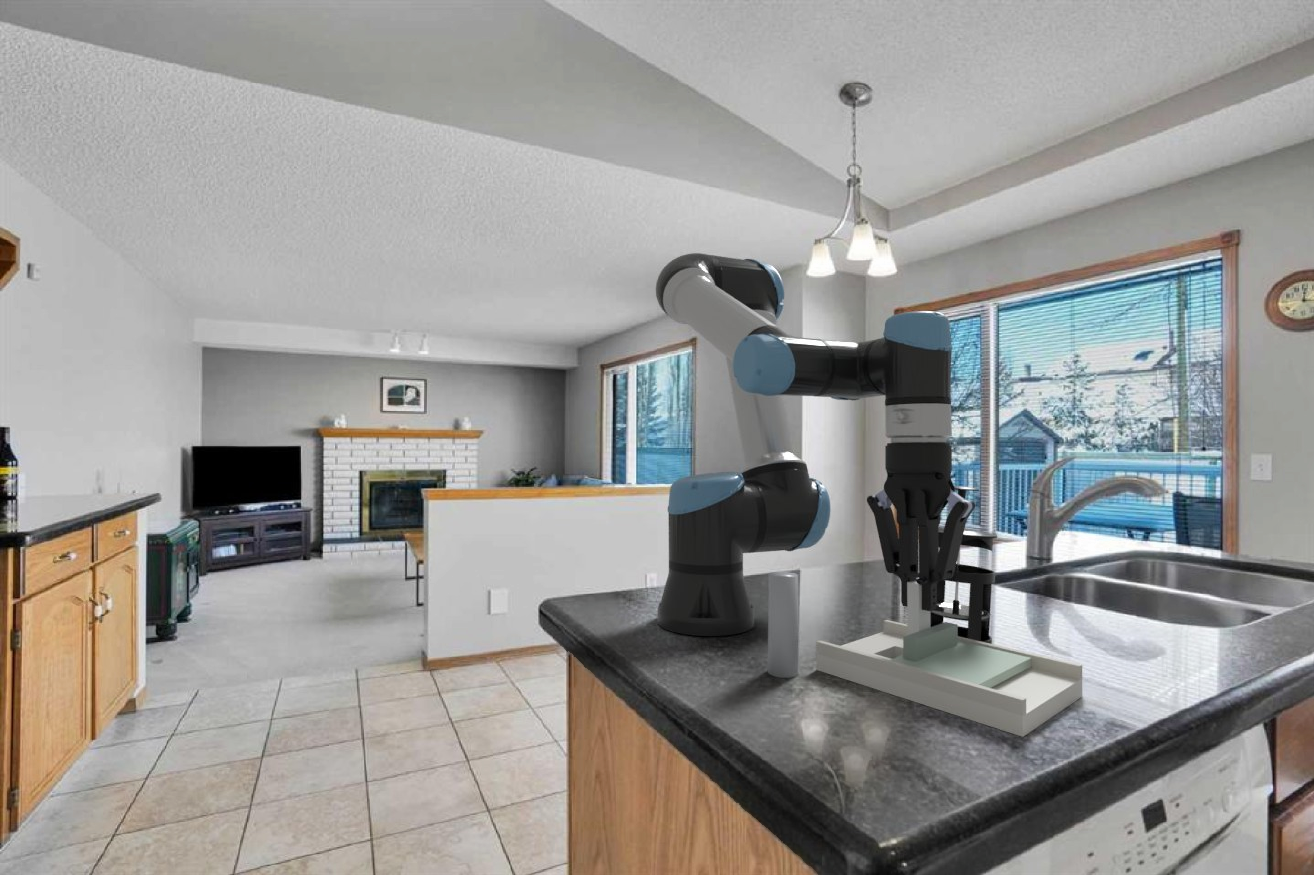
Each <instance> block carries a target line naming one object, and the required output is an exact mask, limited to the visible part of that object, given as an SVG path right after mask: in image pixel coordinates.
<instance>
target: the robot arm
mask: <svg viewBox="0 0 1314 875" xmlns="http://www.w3.org/2000/svg"><path fill="white" fill-rule="evenodd" d="M655 297H656V300H657V302H658V305H659V307H660V308H661V310H662V311H663V312H664V313H665V315H666V316H668V317H669V318H670V319H672V321H674V322H676V323H679V324H682V325H688V326H689V327H691V328H692V329H693V331H695V332H696V333H697V334H699V335H700V336H701V337H703V339H705V340H706V341H707V342H708V343H710V345H712V346H713V347H714V348H716V349H717V350H718V351H719V352H720V353H721V354H723V355H724V356H725V358H726V359H725V360H726V365H727V370H728V376H729V383H730V386H731V387H730V388H731V394H732V399H733V404H734V411H735V415H736V421H737V422H736V423H737V426H738V433H739V434H738V435H739V438H740V443H741V444H740V445H741V449H742V455H743V461H744V462H743V463H744V466H743V467H742V468H741V470H740V472H739V471H721V472H709V473H700V474H695V475H689V476H685V477H681V478H679V479H677V480H675V481H674V482H673V483H671V486H670V488H669V497H668V506H667V512H668V574H667V578H666V581H665V584H664V588H663V591H662V597H661V600H660V603H658V606H657V611H656V613H657V616H656V617H657V618H656V620H657V625H658V626H660V627H661V628H662V629H663V630H666V631H669V632H672V633H677V634H681V635H686V636H687V635H689V636H696V637H697V636H698V637H699V636H701V637H719V636H720V637H722V636H730V635H731V636H732V635H736V634H741V633H745V632H748V631H750V630H752V629H753V628H754V626H755V608H754V606H753V604H752V603H751V599H750V595H749V590H748V587H747V584H746V580H745V577H744V554H750V553H751V554H752V553H753V554H754V553H765V552H767V553H769V552H778V551H782V552H783V551H787V552H793V551H797V550H800V549H801V550H802V549H808V548H809V549H810V548H812V547H813V546H815V545H817V544H818V543H819V542H820V541H821V540H822V538H824V535H825V533H826V530H827V528H828V526H829V523H830V518H831V499H830V495H829V492H828V490H827V488H826V486H825V485H823V483H822V481H820V480H818V479H815V478H814V477H810V475H809V470H808V466H807V465H808V464H807V463H806V461H804V460H802V459H801V458H799V457H797V455H796V452H795V447H794V443H793V442H794V441H793V437H792V431H791V429H790V428H791V427H790V423H789V419H788V412H787V409H786V408H787V407H786V403H785V398H784V396H792V397H793V396H794V397H797V396H798V397H818V398H820V397H821V398H831V399H833V400H837V401H840V400H841V401H858V400H860V399H866V398H874V397H881V396H885V397H884V398H885V400H884V406H885V407H884V408H885V409H884V412H885V413H884V414H885V421H884V422H885V437H886V438H887V439H890V442H887V443H886V445H885V446H884V447H885V448H884V449H885V450H884V455H885V457H884V458H885V460H884V462H885V463H884V464H885V471H886V475H887V477H886V480H885V482H884V483H883V489H882V490H881V491H879V492H878V493H877V494H875V495H873V494H872V495H868V496H867V497H866V502H867V505H868V506H869V509H870V510H871V512H872V513H873V516H874V520H875V525H876V529H877V534H878V539H879V543H880V547H881V552H882V556H883V562H884V568H885V570H886V572H887V573H888V574H893V575H895V576H897V577H898V578H899V580H900V583H901V585H900V588H901V589H900V592H901V594H900V597H901V598H900V600H901V601H900V602H901V604H902V607H906V608H907V611H906V613H907V619H906V620H907V621H906V622H907V623H906V624H907V626H908V635H910V634H913V633H916V632H919V631H921V630H924V629H927V628H930V627H931V623H930V611H932V610H935V609H936V607H937V583H938V582H939V581H942V580H946V579H949V578H952V577H953V575H954V571H955V566H956V564H957V558H958V554H959V550H960V551H961V548H960V545H961V541H962V537H963V533H964V529H965V528H966V525H967V524H966V523H967V520H968V519H969V517H970V516H971V514H972V513H973V511H974V510H975V508H976V503H975V502H974V501H973V500H970V499H969V500H967V499H966V498H965V499H964V498H962V497H961V496H959V495H958V492H956V490H955V487H954V486H955V484H954V483H953V481H952V480H953V479H952V477H951V476H952V469H953V464H952V463H953V459H952V458H953V457H952V454H953V452H952V451H953V450H952V449H953V447H952V445H951V443H950V442H947V438H949V439H950V438H951V437H952V436H953V431H952V429H953V428H952V425H953V423H952V398H951V397H952V396H951V395H952V390H951V389H952V378H951V377H952V351H953V345H952V336H951V327H950V326H951V324H950V320H949V318H948V317H947V316H946V315H945V314H943V313H941V312H938V311H929V310H928V311H927V310H926V311H925V310H920V311H908V312H906V311H905V312H901V313H900V312H899V313H897V314H894V315H891V316H889V317H888V318H887V319H886V320H885V322H884V328H883V329H884V330H883V332H882V333H883V334H882V335H883V336H882V337H881V338H876V339H871V340H866V341H858V342H857V341H845V340H832V339H820V338H810V337H809V338H808V337H798V336H793V335H792V334H789V333H788V332H786V331H785V330H784V329H782V328H780V327H779V326H777V320H778V319H779V317H780V316H781V314H782V311H783V308H784V303H783V300H785V288H784V283H783V279H782V278H781V275H780V274H779V271H778V270H777V269H776V268H775V267H774V266H773V265H771V264H769V263H767V262H764V261H758V260H756V259H753V258H744V259H742V258H741V259H740V258H734V257H728V256H721V255H720V256H719V255H714V254H707V253H702V252H701V253H699V252H693V253H686V254H682V255H680V256H677V257H676V258H674V259H672V260H671V261H669V262H668V263H666V265H665V266H664V267H663V268H662V269H661V271H660V273H659V274H658V277H657V280H656V285H655ZM892 505H893V507H894V509H895V510H896V521H895V515H894V512H893V509H892V507H891V506H892ZM947 505H948V507H947ZM945 507H947V511H948V515H947V517H946V520H945V524H944V526H943V527H944V532H943V536H942V540H941V544H940V548H939V544H938V527H940V526H939V525H940V524H941V513H942V511H943V510H944V509H945ZM896 523H897V524H898V528H897V525H896ZM961 546H962V545H961Z"/></svg>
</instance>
